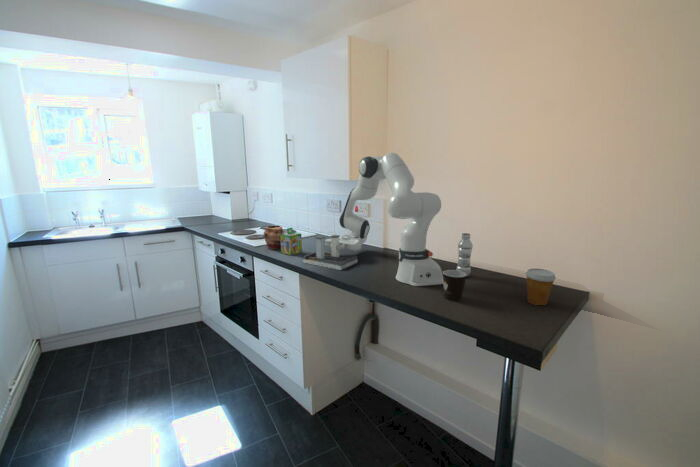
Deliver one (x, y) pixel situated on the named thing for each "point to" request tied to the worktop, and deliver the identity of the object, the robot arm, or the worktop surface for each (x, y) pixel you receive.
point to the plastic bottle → (464, 254)
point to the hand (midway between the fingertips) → (334, 247)
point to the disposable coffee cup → (539, 285)
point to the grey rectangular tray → (330, 261)
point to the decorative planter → (273, 236)
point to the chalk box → (291, 242)
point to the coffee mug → (453, 284)
